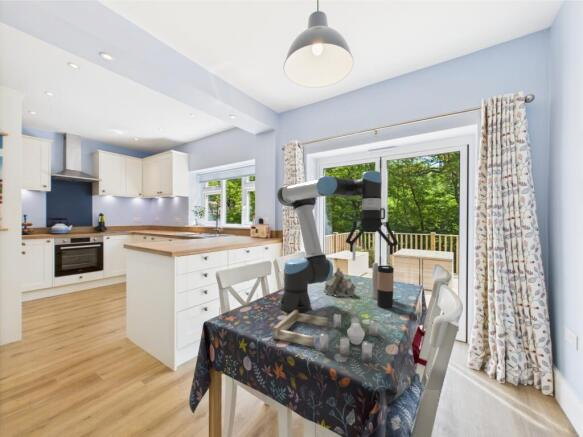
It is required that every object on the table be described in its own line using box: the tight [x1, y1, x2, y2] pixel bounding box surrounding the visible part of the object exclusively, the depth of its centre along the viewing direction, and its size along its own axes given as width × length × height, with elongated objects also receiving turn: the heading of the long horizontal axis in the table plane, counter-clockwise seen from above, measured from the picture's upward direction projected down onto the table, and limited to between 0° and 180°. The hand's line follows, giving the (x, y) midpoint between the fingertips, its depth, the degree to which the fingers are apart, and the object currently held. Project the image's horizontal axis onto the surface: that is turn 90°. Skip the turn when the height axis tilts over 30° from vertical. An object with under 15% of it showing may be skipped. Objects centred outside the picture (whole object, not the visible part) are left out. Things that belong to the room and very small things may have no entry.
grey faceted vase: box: [346, 323, 366, 346], centre depth 90 cm, size 6×6×7 cm
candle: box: [371, 262, 379, 300], centre depth 142 cm, size 7×14×20 cm, turn 89°
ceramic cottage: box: [322, 266, 357, 297], centre depth 149 cm, size 16×16×15 cm
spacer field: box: [318, 313, 378, 363], centre depth 91 cm, size 17×22×5 cm
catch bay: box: [273, 310, 329, 348], centre depth 99 cm, size 15×20×4 cm
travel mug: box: [376, 264, 395, 310], centre depth 129 cm, size 8×8×20 cm
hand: (370, 261), depth 104 cm, fingers open, 13 cm apart
